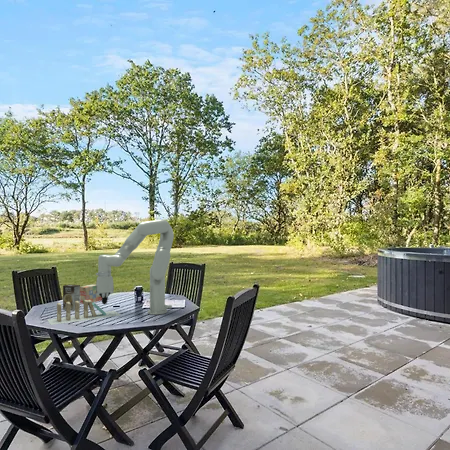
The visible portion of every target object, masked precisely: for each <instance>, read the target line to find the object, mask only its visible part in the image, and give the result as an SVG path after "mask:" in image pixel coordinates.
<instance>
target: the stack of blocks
mask: <svg viewBox="0 0 450 450" xmlns="http://www.w3.org/2000/svg"><path fill="white" fill-rule="evenodd" d="M104 297H105V293H104ZM108 299H109V296H108V297H107V300H108ZM84 300H91V301H92V302H94V303H96V302H102V297H101V296H100V295H96V283H95V284H87V285H82V286H80V305H82V304H83V305H84Z"/></svg>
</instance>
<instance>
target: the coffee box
mask: <svg viewBox="0 0 450 450" xmlns="http://www.w3.org/2000/svg"><path fill="white" fill-rule="evenodd" d="M80 287H81V285H79V284H65V285H64V284H63V286H62V310H65V311H66V302H70V303H71V311H75V301H79V302H80Z"/></svg>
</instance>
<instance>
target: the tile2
mask: <svg viewBox="0 0 450 450" xmlns="http://www.w3.org/2000/svg"><path fill="white" fill-rule="evenodd" d="M87 301H88V309H89V311H90V314H92V316H93V317H95V316H96V313H97V312H96V310H95V307H94V306H93V304H92V301H91V300H87Z"/></svg>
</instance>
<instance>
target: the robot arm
mask: <svg viewBox="0 0 450 450" xmlns="http://www.w3.org/2000/svg"><path fill="white" fill-rule="evenodd" d="M174 233H175V232H174V229H173V228H172V226H171V225H170V223H169V222H168V221H167V220H166V219H156V220H148V221H141V222H140V223H138V224H137V226H136V227H135V228H134V229H133V230H132V232H131V233H130V234H129V235H128V236H127V238H126V239H125V241H124V242H123V244H122V245H121V247H120V248H118V250H117V251H116V252H115V253H114V254H100V255H98V259H97V260H98V263H97V264H98V265H97V266H98V269H97V271H98V272H96V273H95V275H96V282H95V285H96V295H100V296H101V297H102V300H101V303H102V304H103V305H107V304H108V299H107V297H108V298H109V296H110V295H112V294H114V291H115V290H114V289H115V288H114V287H115V286H114V277H113V276H112V267H115V268H116V267H121V266H122V265H123V263H124V262H125V261H126V260H127V258H128V257H129V256H130V255H132V253H133V252H134V251H135V250H137V248H138V247H139V246H140V245H141V243H142V242H143V241H144V240H145V239H146V237H147V236H149V235H158V234H160V238H159V241H158V245H157V248H156V250H155V254H154V258H153V262H152V264H151V266H150V269H149V309H148V310H147V314H149V315H154V316H155V315H158V316H159V315H164V314H166V313H168V309H172V308H173V305H172V304H169V305H168V304H167V305H166V274H167V270H168V266H169V264H170V261H171V250H172V246H173V242H174V236H175V235H174ZM104 293H105V297H104Z"/></svg>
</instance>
